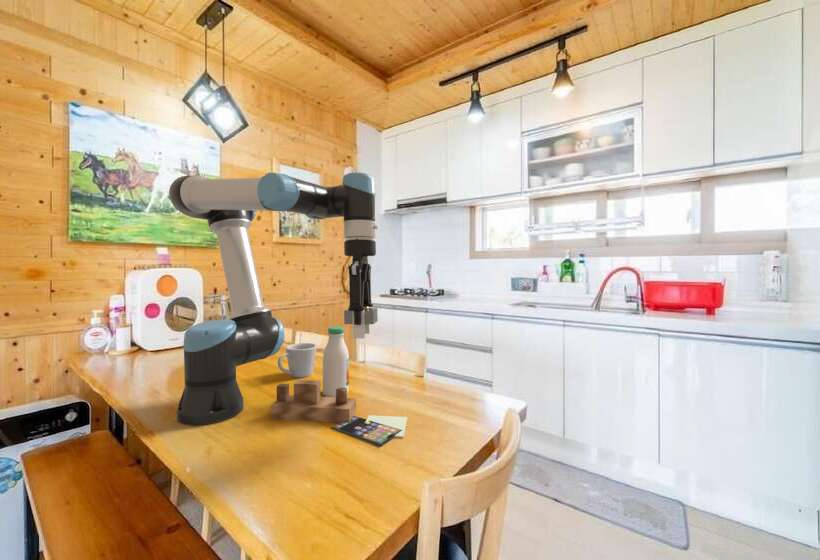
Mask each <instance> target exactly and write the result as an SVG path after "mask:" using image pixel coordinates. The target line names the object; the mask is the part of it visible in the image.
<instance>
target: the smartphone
mask: <svg viewBox="0 0 820 560" xmlns="http://www.w3.org/2000/svg"><path fill="white" fill-rule="evenodd" d="M366 420H367V418H363V417H359V416H357V415H354V416H353V417H352V418H351V420H350V422H344V421H343V422H337V424H334V425H333V426H330V429H332V430H334V431H337V432H339V433H342V434H345V435H348V436H350V437H353V438H355V439H358V440H361V441H364V442H366V443H369V444H371V445H373V446H377V447H380V448H381V447H383V446H384V445H386V444H387V443H389V442H390V441H392V440H394V439H395V437H394V436H395V435H396V434H398V433H399V432H401V431H402V430H400V429H397V428H394V427H390V426H387V425H384V424H380V423H376V422H373V421H367V422H366Z"/></svg>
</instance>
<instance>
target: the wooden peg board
mask: <svg viewBox="0 0 820 560" xmlns="http://www.w3.org/2000/svg"><path fill="white" fill-rule="evenodd" d="M356 412H357V398H356V397H348V393H347V388H337V389H336V397H327V396H321V380H308V379H297V380H296V381H295V382H293V395H292V394H291V395H290V384H289V383H279V384H278V385H276V400H275V401H274V402H273V403H272V404H271V405H270V419H271V420H281V421H282V420H284V421H285V420H286V421H302V422H303V421H304V422H306V421H307V422H320V423H321V422H324V423H326V422H327V423H340V422H343V421H344V422H350V420H351V418H352V417H353V416H355V413H356Z"/></svg>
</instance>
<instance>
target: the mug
mask: <svg viewBox="0 0 820 560" xmlns="http://www.w3.org/2000/svg"><path fill="white" fill-rule="evenodd" d="M317 347H318V346H317V345H316V344H314V343H311V342H297V343H291V344H289V345H287V346H286V347H285V353H283V354H280V356H278V359H277V366H278V368H279V370H280V371H281V372H283V373H285V374H289V375H290V377H292V378H299V379H300V378H307V377H310V376H312V375H313V374H314V366H315V360H316V353H317ZM285 357H286V358H287V365H288V369H286V368H284V366H283V365H282V361H283V359H284V358H285Z"/></svg>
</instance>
